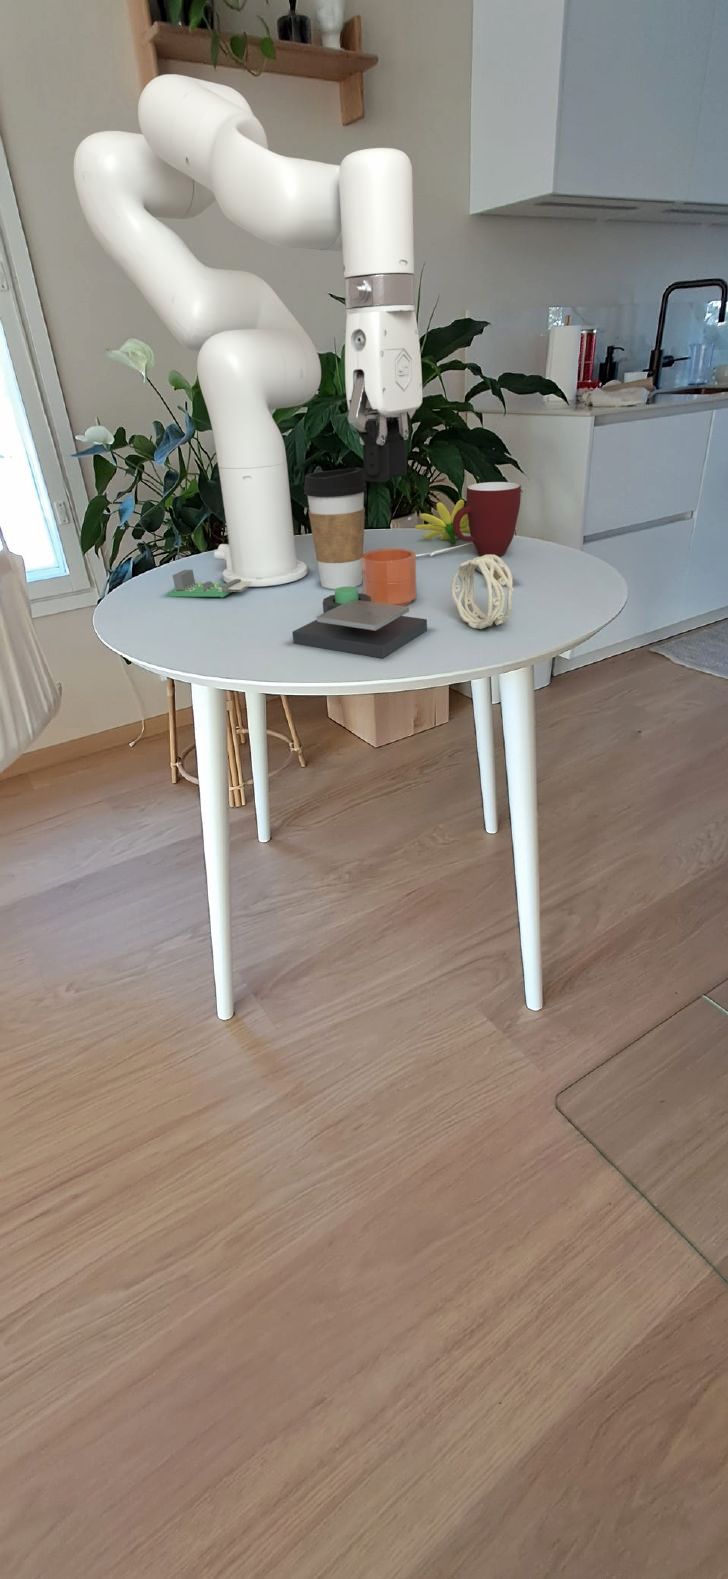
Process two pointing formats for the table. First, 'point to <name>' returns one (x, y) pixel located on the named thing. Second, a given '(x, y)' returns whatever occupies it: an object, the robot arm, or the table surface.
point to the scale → (360, 634)
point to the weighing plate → (363, 614)
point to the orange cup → (389, 576)
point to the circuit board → (203, 586)
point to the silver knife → (443, 550)
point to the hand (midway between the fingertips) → (385, 477)
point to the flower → (444, 523)
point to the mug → (490, 516)
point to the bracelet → (491, 582)
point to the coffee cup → (337, 524)
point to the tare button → (346, 594)
